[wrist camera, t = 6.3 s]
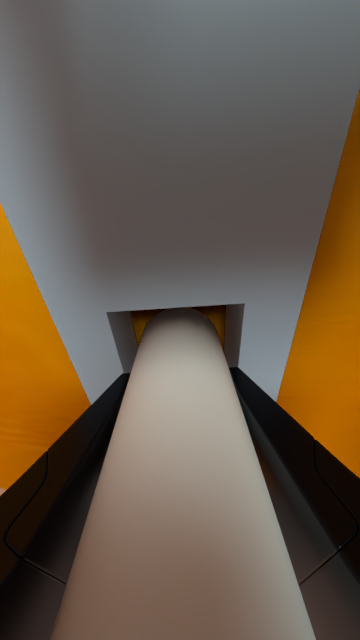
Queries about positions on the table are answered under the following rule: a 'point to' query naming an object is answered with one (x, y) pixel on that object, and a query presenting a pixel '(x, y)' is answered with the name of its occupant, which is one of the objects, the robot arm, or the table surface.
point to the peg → (181, 510)
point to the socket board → (173, 163)
